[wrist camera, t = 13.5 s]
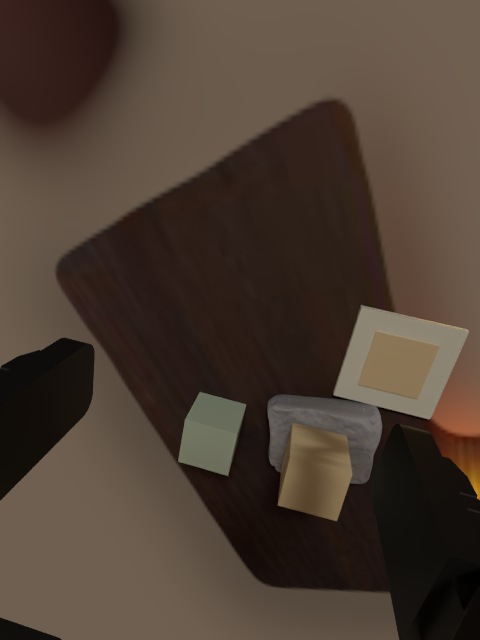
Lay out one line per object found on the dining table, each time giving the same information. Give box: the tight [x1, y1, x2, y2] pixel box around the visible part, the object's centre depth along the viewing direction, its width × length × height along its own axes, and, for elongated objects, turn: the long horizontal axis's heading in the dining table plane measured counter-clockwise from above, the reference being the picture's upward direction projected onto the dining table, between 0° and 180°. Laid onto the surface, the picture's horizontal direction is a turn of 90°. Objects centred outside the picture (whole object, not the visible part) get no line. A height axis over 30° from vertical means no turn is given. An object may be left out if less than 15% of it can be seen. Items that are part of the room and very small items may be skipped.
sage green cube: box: [178, 392, 246, 476], centre depth 41 cm, size 6×6×6 cm
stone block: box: [267, 394, 382, 484], centre depth 41 cm, size 12×5×10 cm
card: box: [333, 305, 469, 419], centre depth 38 cm, size 10×10×1 cm
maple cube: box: [278, 423, 352, 521], centre depth 36 cm, size 6×6×6 cm
